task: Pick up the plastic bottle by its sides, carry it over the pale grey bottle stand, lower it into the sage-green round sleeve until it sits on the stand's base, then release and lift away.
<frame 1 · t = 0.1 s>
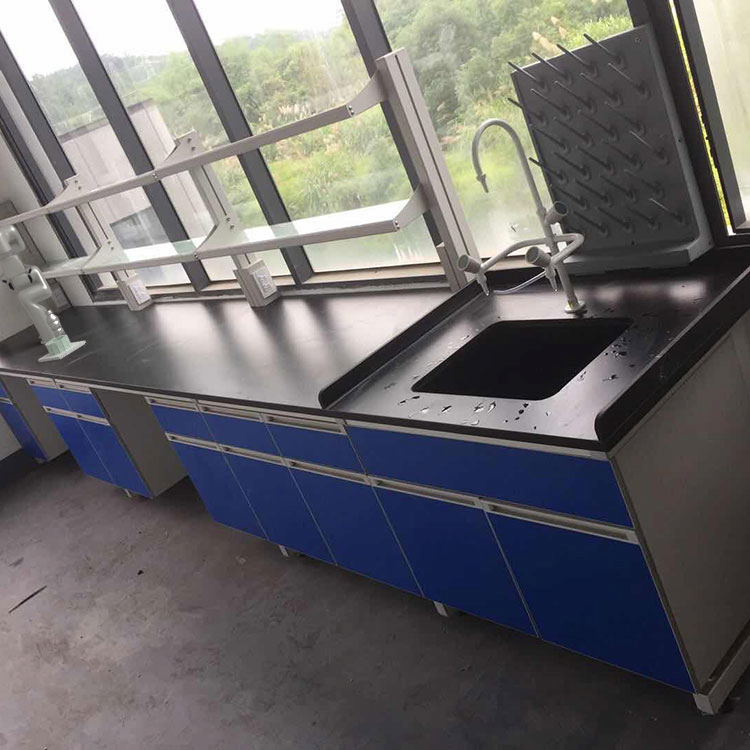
hand: (22, 286, 415), 37 cm above the countertop, tool pointing down, fingers open, 9 cm apart
plastic bottle: (65, 344, 433), on the countertop
bottle stand: (62, 352, 416), on the countertop
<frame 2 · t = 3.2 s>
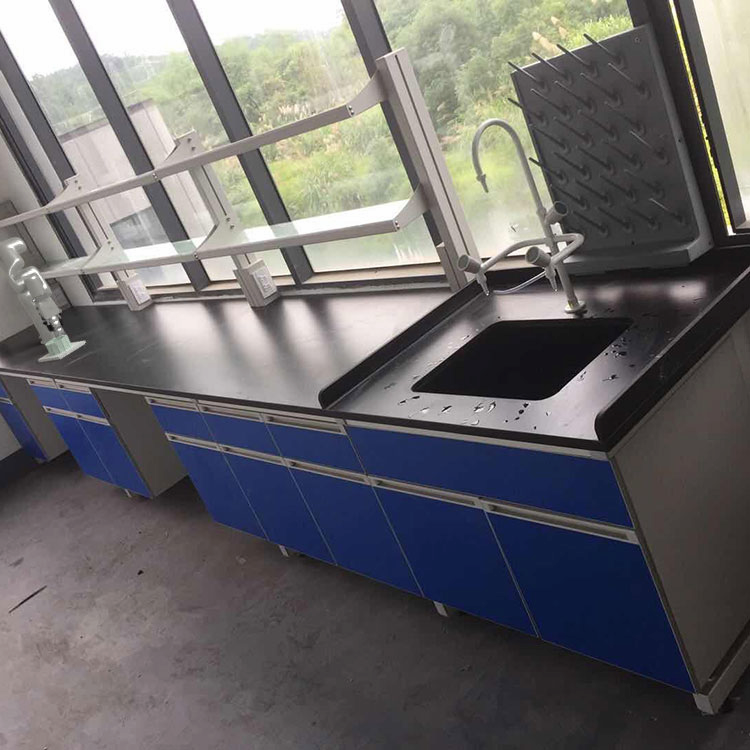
hand: (56, 328, 430), 10 cm above the countertop, tool pointing down, fingers closed on plastic bottle, 6 cm apart
plastic bottle: (65, 344, 433), on the countertop, touching gripper
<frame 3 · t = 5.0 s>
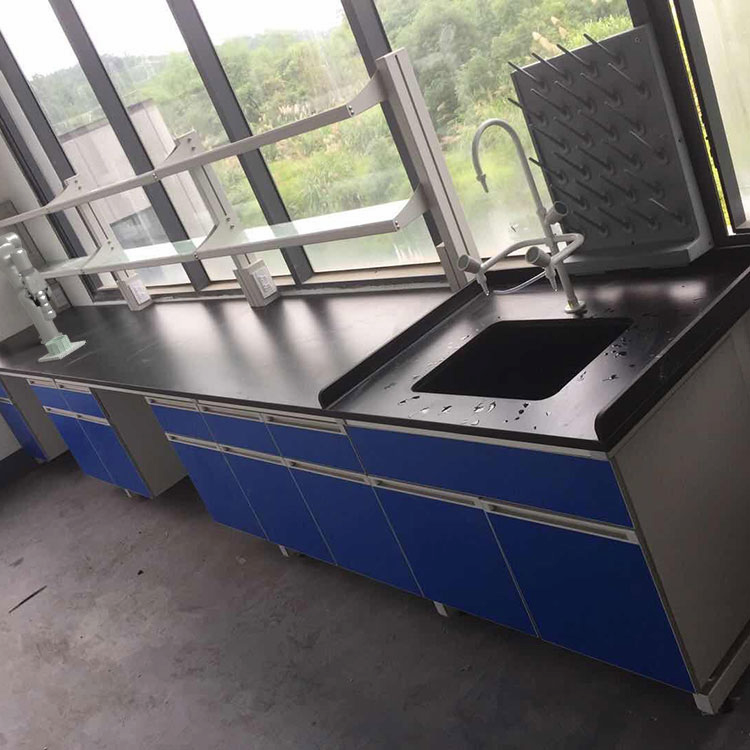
hand: (43, 303, 425), 24 cm above the countertop, tool pointing down, fingers closed on plastic bottle, 6 cm apart
plastic bottle: (52, 319, 428), point 15 cm above the countertop, touching gripper
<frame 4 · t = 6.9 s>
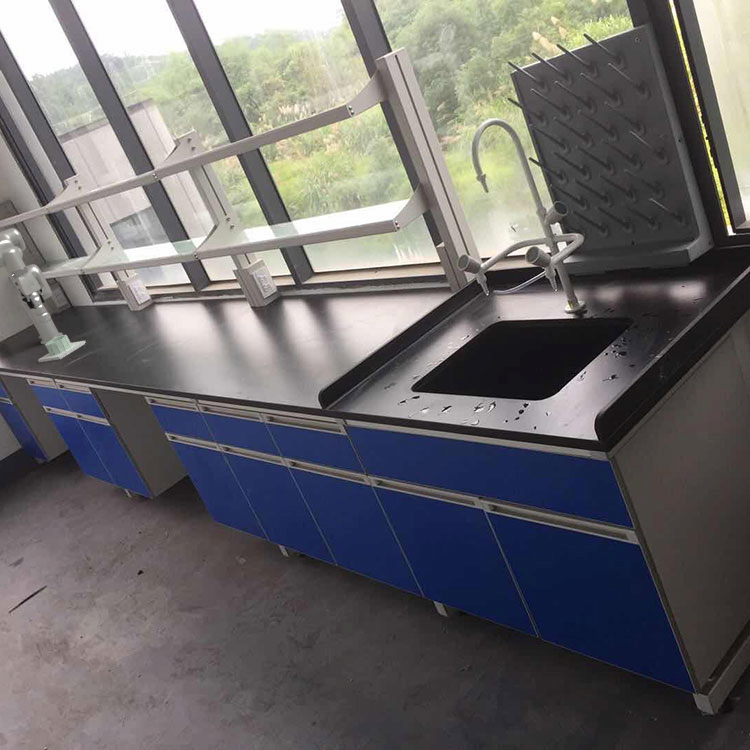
hand: (37, 305, 406), 27 cm above the countertop, tool pointing down, fingers closed on plastic bottle, 6 cm apart
plastic bottle: (46, 322, 409), point 17 cm above the countertop, touching gripper
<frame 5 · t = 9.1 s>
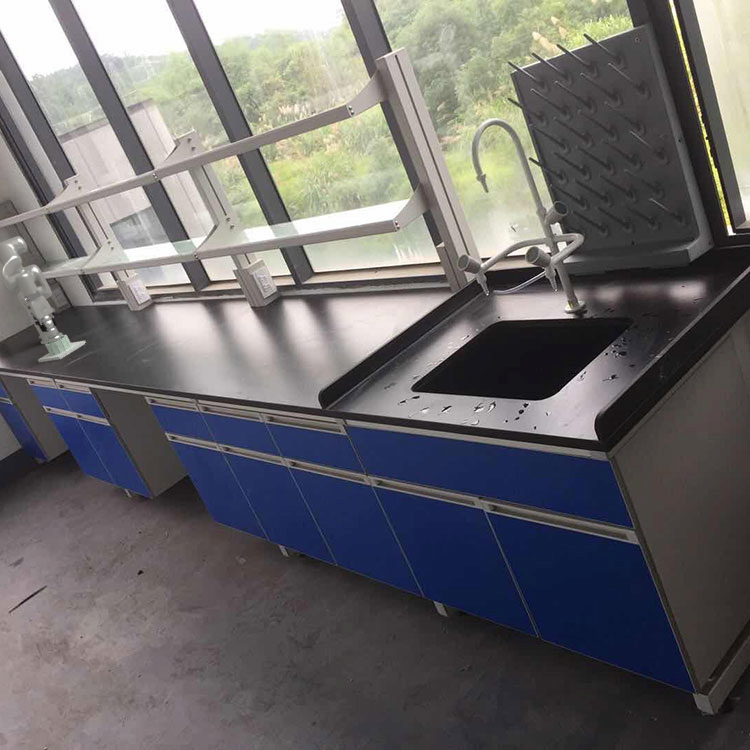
hand: (49, 328, 411), 14 cm above the countertop, tool pointing down, fingers closed on plastic bottle, 6 cm apart
plastic bottle: (58, 345, 414), point 4 cm above the countertop, touching gripper
when the fingers open (12 cm above the countertop, at t = 10.9 s): plastic bottle stays where it is, resting on bottle stand.
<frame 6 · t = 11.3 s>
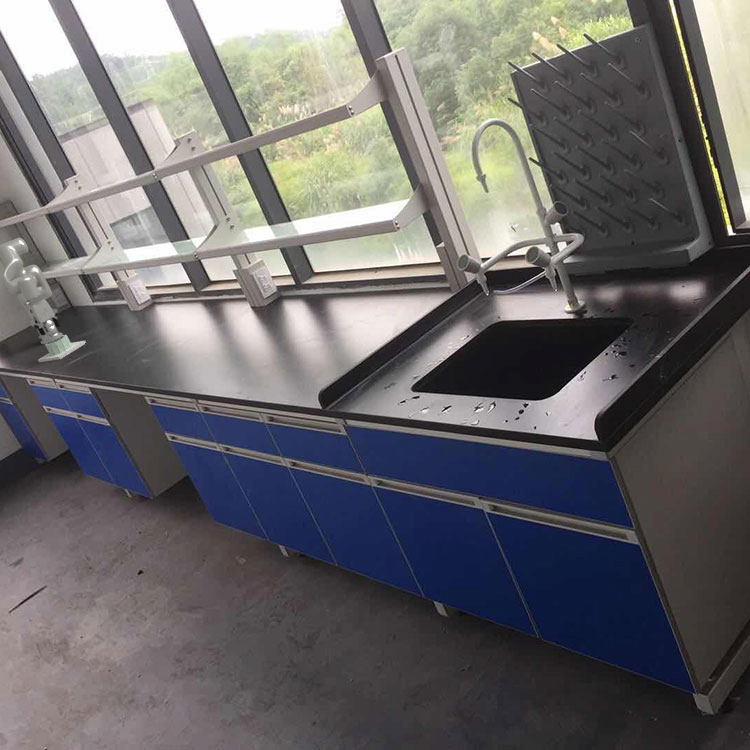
hand: (51, 330, 411), 13 cm above the countertop, tool pointing down, fingers open, 9 cm apart
plastic bottle: (61, 350, 415), point 1 cm above the countertop, touching bottle stand
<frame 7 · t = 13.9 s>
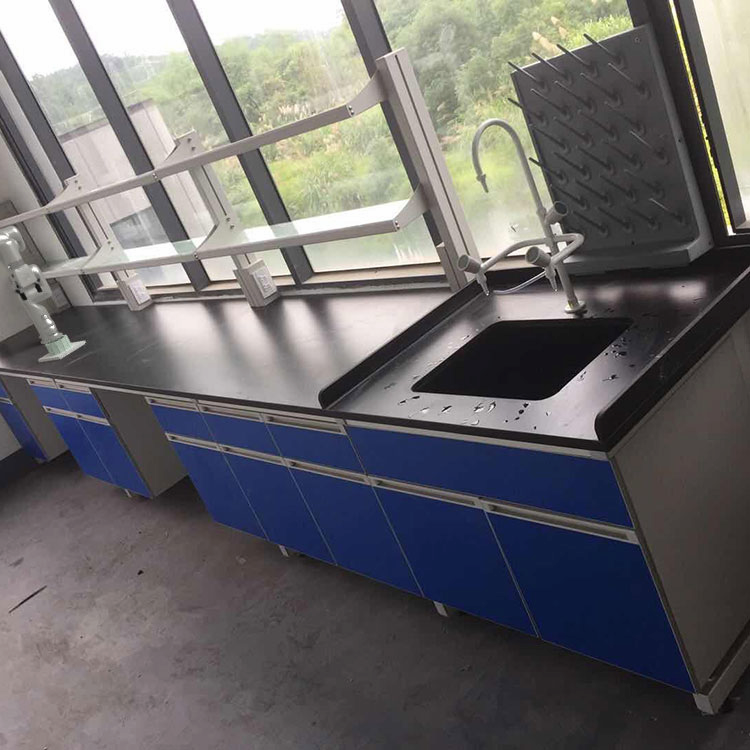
hand: (33, 296, 405), 32 cm above the countertop, tool pointing down, fingers open, 9 cm apart
nothing on the countertop moved.
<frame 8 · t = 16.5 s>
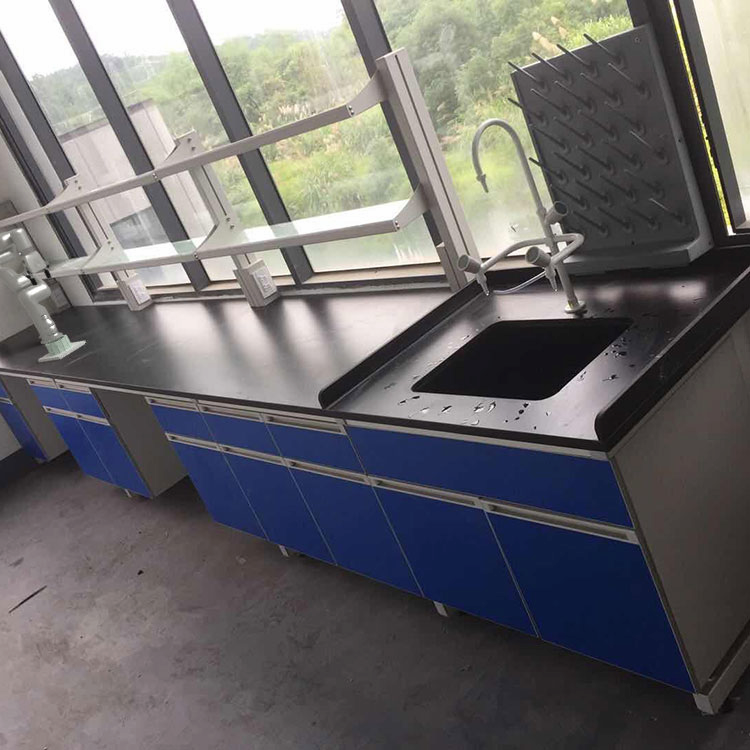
hand: (42, 281, 427), 34 cm above the countertop, tool pointing down, fingers open, 9 cm apart
nothing on the countertop moved.
at the end: plastic bottle 0.1 cm off-centre on the bottle stand, point 1.3 cm above the bottle stand's base; plastic bottle tilted 0°; the gripper is holding nothing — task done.
